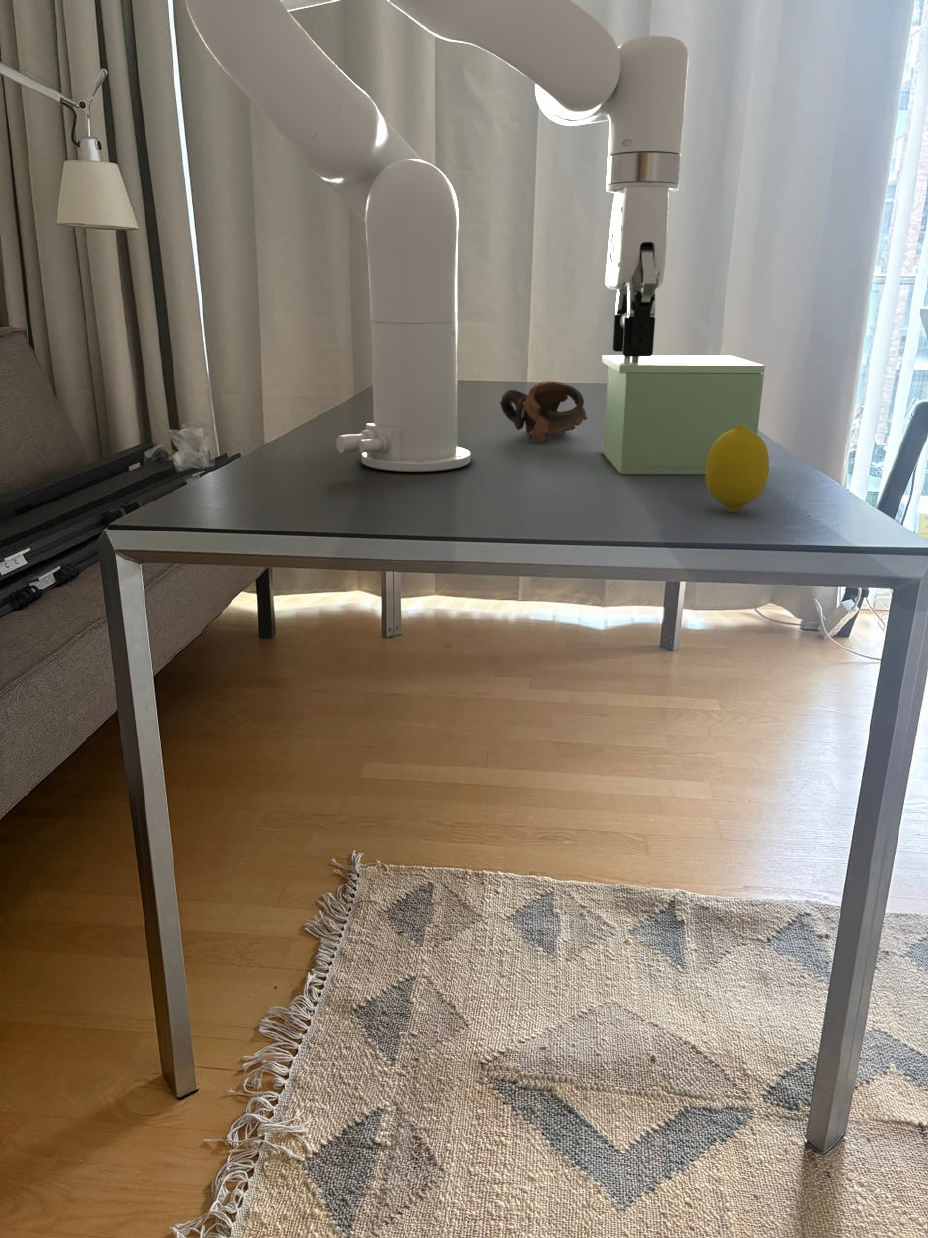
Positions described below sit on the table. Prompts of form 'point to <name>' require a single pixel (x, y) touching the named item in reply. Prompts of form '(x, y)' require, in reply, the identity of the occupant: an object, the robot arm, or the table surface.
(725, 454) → the lemon
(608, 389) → the chest
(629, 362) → the lid
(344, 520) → the table surface
